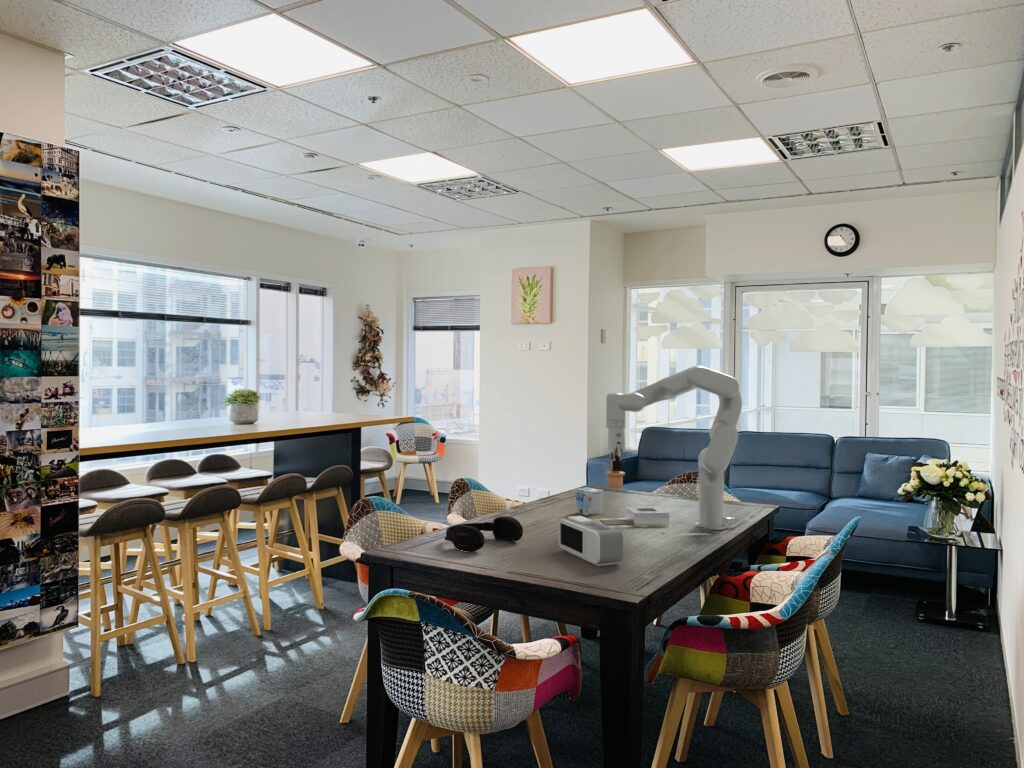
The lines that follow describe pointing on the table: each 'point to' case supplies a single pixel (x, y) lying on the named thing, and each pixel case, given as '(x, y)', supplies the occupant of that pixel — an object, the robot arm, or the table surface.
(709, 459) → the robot arm
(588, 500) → the light bulb box
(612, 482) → the end cover
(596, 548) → the alarm clock
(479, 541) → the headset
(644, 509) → the plate
